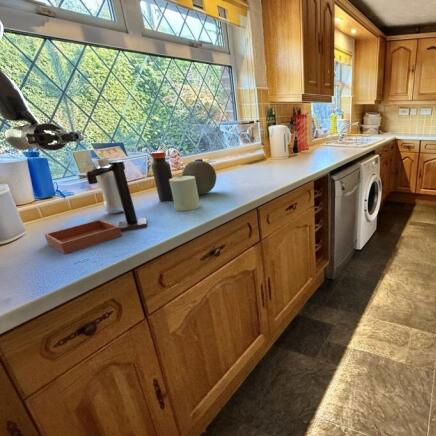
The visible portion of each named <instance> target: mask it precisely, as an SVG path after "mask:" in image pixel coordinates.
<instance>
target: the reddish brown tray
mask: <svg viewBox="0 0 436 436" xmlns="http://www.w3.org/2000/svg"><path fill="white" fill-rule="evenodd" d="M44 237H45V240H46V242H47V245H48V246H51V247H52V248H54V249H56V250H57V251H59V252H60V253H62V254H64V255H67V254H70V253H73V252H76V251H80V250H84V249H86V248H89V247H92V246H95V245H98V244H101V243H105V242H107V241H112V240H114V239H117V238H120V237H123V235H122V231H120V227H119V226H118V225H116V224H114V223H111V222H108V221H106V220H103V219H95V220H92V221H89V222H85V223H82V224H78V225H74V226H70V227H67V228H63V229H59V230H54V231H52V232H48V233H44Z"/></svg>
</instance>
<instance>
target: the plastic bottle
mask: <svg viewBox="0 0 436 436" xmlns="http://www.w3.org/2000/svg"><path fill="white" fill-rule="evenodd" d="M109 162H110V161H109V158H99V159H95V163H96V166H97V168H96V169H98V168H101V167H104V166H107V165H109ZM96 178H97V181H98V183H97V184H98V185H99V188H100V190H101V193H102V199H103V209H104V211H105V212H106V213H107V214H118V213H123V212H124V211H123V207H122V204H121V200H120V196H119V193H118V189H117V186H116V182H115V178H114V175H113V171H110V172H107V173H104V174H102V175H99V176H96Z"/></svg>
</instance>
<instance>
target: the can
mask: <svg viewBox="0 0 436 436" xmlns="http://www.w3.org/2000/svg"><path fill="white" fill-rule="evenodd" d="M169 182H170V186H171V191H172V195H173V200H172V201H173V205H174V210H175V211H177V212H187V211H192V210H196V209H199V208H200V207H201V203H200V198H199V197H200V196H199V194H198V192H197V186H196V181H195V177H194V176H182V175H181V176H175V177H172V178H171V179H169Z"/></svg>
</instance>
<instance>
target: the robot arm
mask: <svg viewBox="0 0 436 436" xmlns="http://www.w3.org/2000/svg"><path fill="white" fill-rule="evenodd" d="M3 35H4V24H3V22H2V19H1V18H0V41H1V40H2V38H3ZM0 116H1V117H2V119H3V120H6V121H11V122H21V121H23V122H26V123H24V124H19V125H16V126H15V125H14V126H11V127H8V128H6V129H5V131H4V132H3V135H4V139H5V141H6V142H7V143H8V144H9V146H11V147H12V148H13V149H16V150H19V151H27V150H32V149H38V150H39V149H40V150H45V151H59V150H62V149H63V148H64V147H66V146H67V144H69V143H72V142H73V143H76V142H80V141H84V140H85V139H84V134H83V132H82V130H77V131H66V130H65V129H63V128H62V127H60V126H59V125H57V124H54V123H51V122H50V123H49V122H43V123H42V122H41V121H40V120H39V119H38V118H37V117H36V116H35V114H34V113H33V112H32V110H31V108H30V106H29V105H28V102H27V101H26V99H25V97H24V95H23V93H22V91H21V89H20V88H19V87H18V86H17V84H16V83H15V82H14V81H13V80H12V79H11V78H10V76H8V75H7V74H6V73H5V72H4V71H3V70H2V69H0Z"/></svg>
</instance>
